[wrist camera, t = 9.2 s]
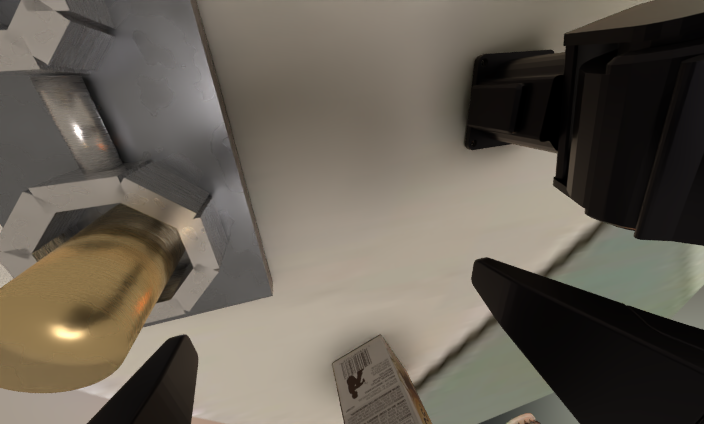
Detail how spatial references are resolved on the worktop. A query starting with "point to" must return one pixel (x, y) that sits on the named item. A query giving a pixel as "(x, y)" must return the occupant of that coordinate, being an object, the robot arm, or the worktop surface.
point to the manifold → (123, 142)
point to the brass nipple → (85, 302)
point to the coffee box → (376, 387)
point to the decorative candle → (523, 419)
